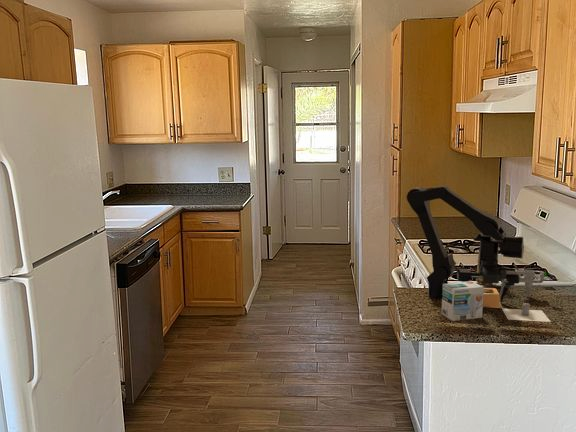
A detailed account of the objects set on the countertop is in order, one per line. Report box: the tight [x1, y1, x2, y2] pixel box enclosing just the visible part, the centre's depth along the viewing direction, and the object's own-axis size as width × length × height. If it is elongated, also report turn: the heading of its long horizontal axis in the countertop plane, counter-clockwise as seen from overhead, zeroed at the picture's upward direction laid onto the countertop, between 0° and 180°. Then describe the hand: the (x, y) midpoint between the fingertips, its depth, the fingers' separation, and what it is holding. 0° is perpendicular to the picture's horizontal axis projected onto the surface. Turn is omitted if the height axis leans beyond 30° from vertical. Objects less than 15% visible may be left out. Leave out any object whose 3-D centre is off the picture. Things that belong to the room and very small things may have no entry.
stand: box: [483, 290, 504, 309], centre depth 180 cm, size 9×9×5 cm
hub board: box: [501, 302, 552, 323], centre depth 169 cm, size 12×10×4 cm
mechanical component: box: [514, 268, 547, 298], centre depth 186 cm, size 3×10×10 cm, turn 78°
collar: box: [483, 287, 500, 307], centre depth 180 cm, size 7×7×4 cm
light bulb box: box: [440, 280, 485, 324], centre depth 168 cm, size 11×7×11 cm, turn 106°
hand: (485, 301), depth 181 cm, fingers open, 9 cm apart
